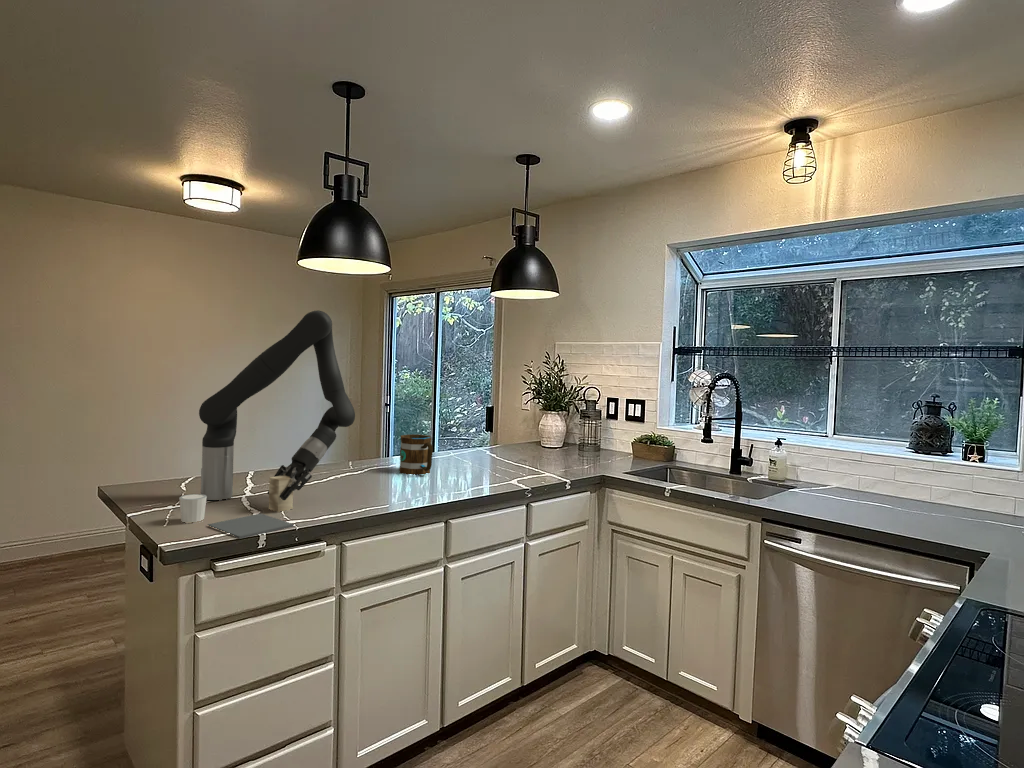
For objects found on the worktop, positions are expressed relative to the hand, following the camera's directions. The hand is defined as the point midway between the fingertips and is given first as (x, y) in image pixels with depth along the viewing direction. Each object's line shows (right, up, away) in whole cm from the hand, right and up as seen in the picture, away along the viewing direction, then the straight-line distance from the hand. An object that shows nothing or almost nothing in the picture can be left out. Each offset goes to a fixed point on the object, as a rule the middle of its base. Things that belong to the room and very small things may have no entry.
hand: (275, 496), depth 185 cm
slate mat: (0, -5, -17) cm, 18 cm away
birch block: (+1, -4, +2) cm, 5 cm away
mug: (+33, -3, +67) cm, 75 cm away
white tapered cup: (-18, -4, -15) cm, 24 cm away
